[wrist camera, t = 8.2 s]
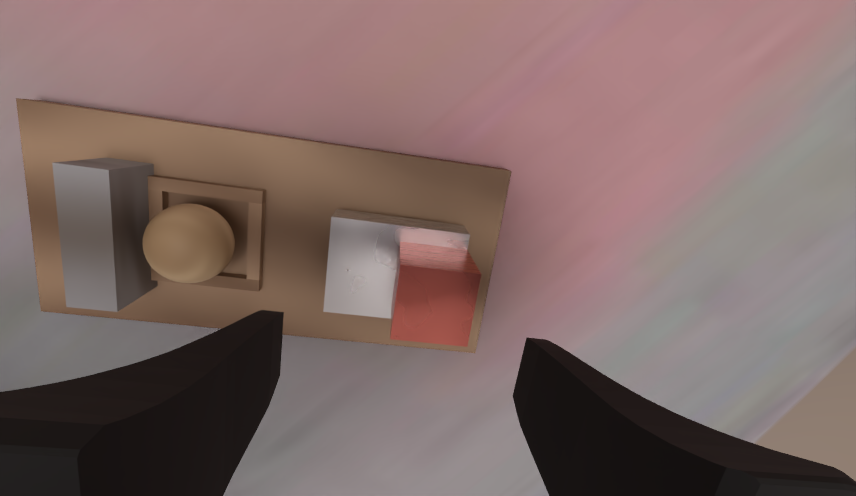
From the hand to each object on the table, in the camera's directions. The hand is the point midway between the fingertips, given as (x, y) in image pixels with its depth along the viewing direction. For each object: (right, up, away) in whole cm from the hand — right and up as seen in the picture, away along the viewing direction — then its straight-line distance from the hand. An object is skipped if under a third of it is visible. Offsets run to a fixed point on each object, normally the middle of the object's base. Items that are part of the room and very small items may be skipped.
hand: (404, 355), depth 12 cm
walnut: (-10, +4, +8) cm, 13 cm away
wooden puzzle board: (-7, +4, +9) cm, 12 cm away
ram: (-1, +2, +8) cm, 8 cm away
